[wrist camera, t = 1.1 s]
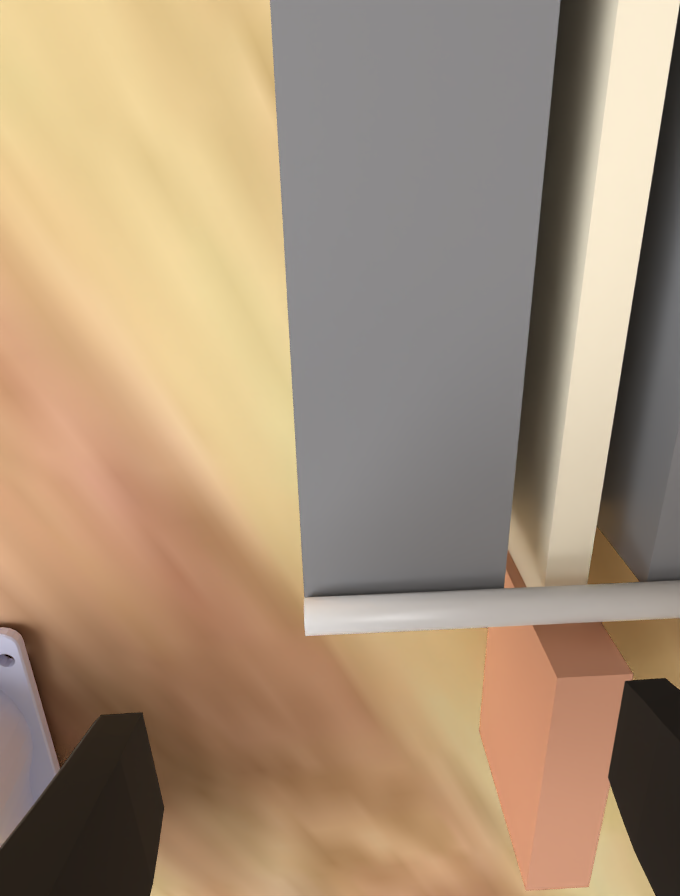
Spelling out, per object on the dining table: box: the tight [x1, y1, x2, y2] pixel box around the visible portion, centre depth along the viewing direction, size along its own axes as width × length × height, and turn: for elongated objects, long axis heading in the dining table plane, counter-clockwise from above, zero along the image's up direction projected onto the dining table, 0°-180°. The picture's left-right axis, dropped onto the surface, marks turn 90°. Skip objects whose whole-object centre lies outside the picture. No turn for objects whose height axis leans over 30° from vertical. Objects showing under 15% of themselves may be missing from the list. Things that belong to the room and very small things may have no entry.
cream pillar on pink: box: [479, 0, 680, 891], centre depth 15 cm, size 20×2×5 cm, turn 1°
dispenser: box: [270, 0, 680, 636], centre depth 14 cm, size 14×12×6 cm
